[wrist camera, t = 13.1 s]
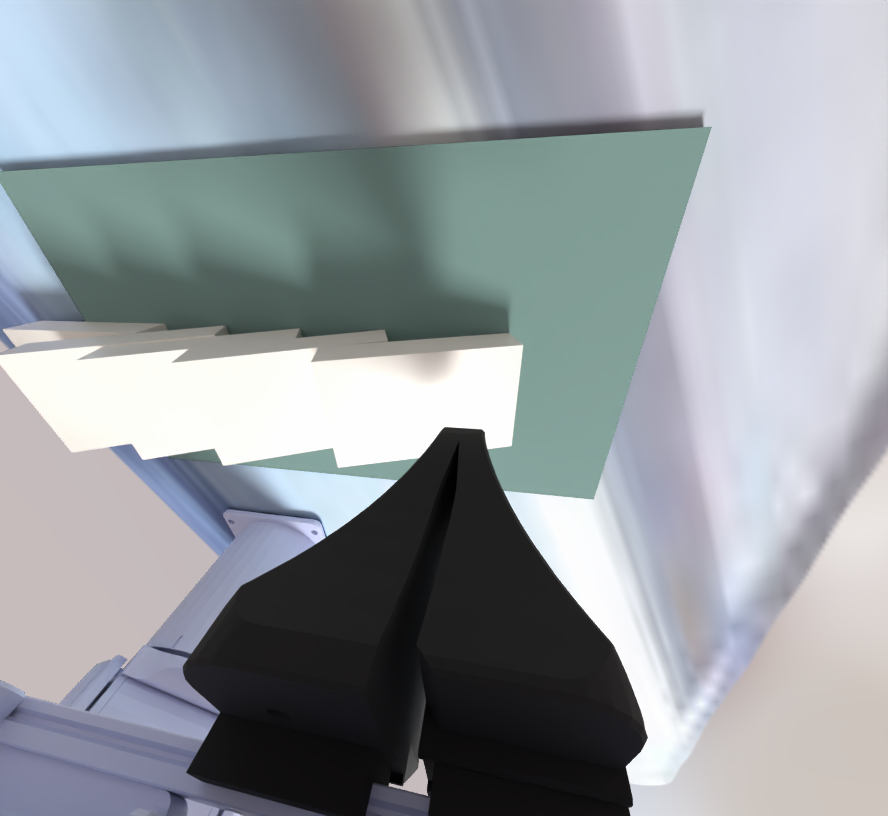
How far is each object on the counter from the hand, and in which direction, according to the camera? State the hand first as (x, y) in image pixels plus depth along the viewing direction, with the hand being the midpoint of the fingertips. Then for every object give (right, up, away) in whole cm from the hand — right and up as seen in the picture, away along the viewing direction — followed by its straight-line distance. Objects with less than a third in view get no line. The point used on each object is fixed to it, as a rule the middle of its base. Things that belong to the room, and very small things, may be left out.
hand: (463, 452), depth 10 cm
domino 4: (+2, +2, +4) cm, 5 cm away
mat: (-6, +4, +6) cm, 9 cm away
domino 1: (-11, +3, +6) cm, 13 cm away
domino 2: (-7, +3, +5) cm, 9 cm away
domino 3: (-3, +3, +5) cm, 6 cm away
